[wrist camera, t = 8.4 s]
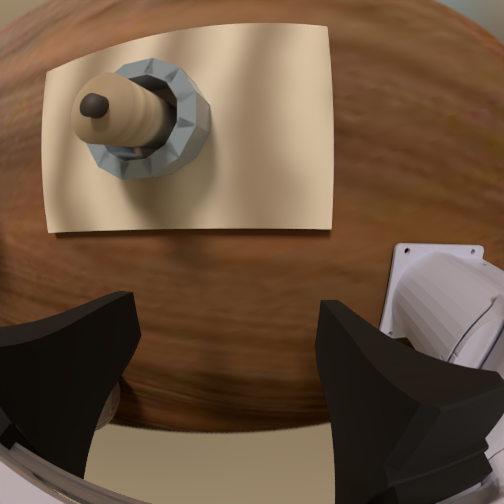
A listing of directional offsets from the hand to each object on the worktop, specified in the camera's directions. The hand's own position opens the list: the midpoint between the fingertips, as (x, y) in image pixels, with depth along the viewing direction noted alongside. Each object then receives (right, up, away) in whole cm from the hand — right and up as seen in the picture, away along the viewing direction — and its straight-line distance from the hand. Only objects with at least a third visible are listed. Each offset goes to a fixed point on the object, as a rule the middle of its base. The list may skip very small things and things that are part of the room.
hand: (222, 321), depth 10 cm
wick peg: (-5, +11, +6) cm, 13 cm away
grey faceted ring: (-5, +11, +6) cm, 13 cm away
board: (-5, +11, +7) cm, 14 cm away
